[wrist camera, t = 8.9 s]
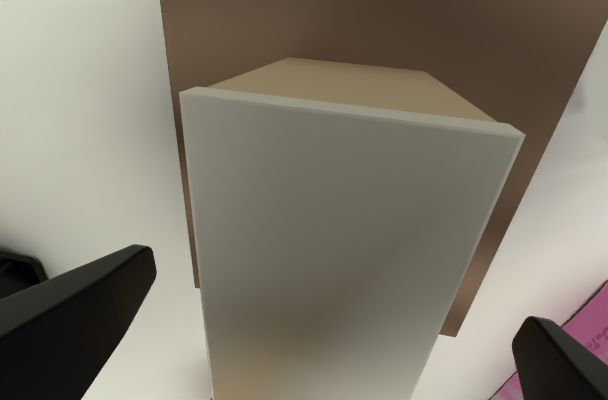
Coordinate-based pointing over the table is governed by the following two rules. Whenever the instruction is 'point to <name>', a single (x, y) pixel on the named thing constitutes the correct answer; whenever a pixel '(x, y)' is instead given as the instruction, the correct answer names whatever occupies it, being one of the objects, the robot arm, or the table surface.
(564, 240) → the table surface
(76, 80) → the table surface
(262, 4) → the brown flat board
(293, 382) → the carton
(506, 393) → the gum box
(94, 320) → the robot arm
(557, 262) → the table surface
